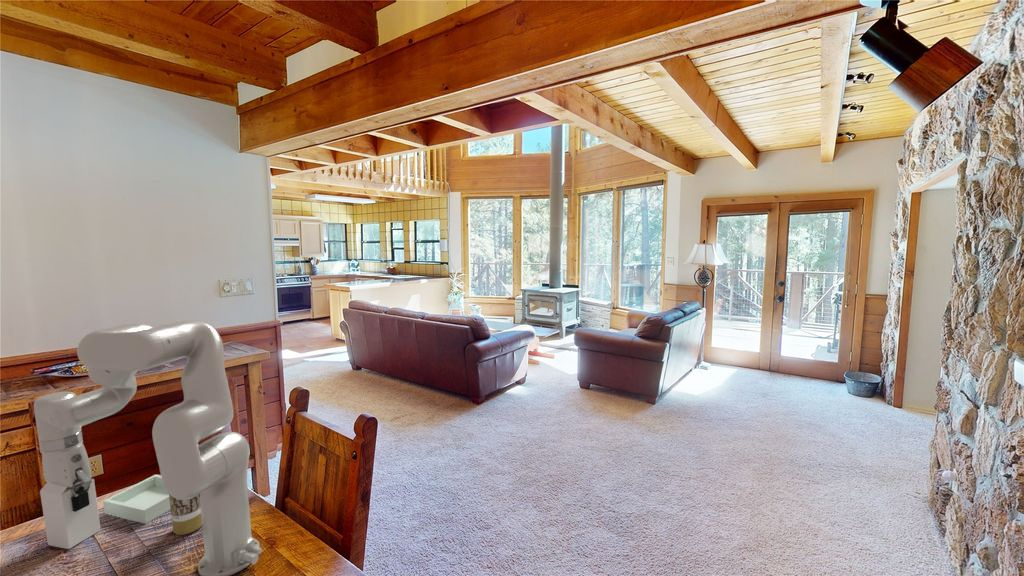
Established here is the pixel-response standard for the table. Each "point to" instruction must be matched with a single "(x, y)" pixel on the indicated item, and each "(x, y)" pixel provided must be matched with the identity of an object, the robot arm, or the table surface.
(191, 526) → the paper tube
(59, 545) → the milk carton
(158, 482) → the tray
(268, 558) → the table surface
